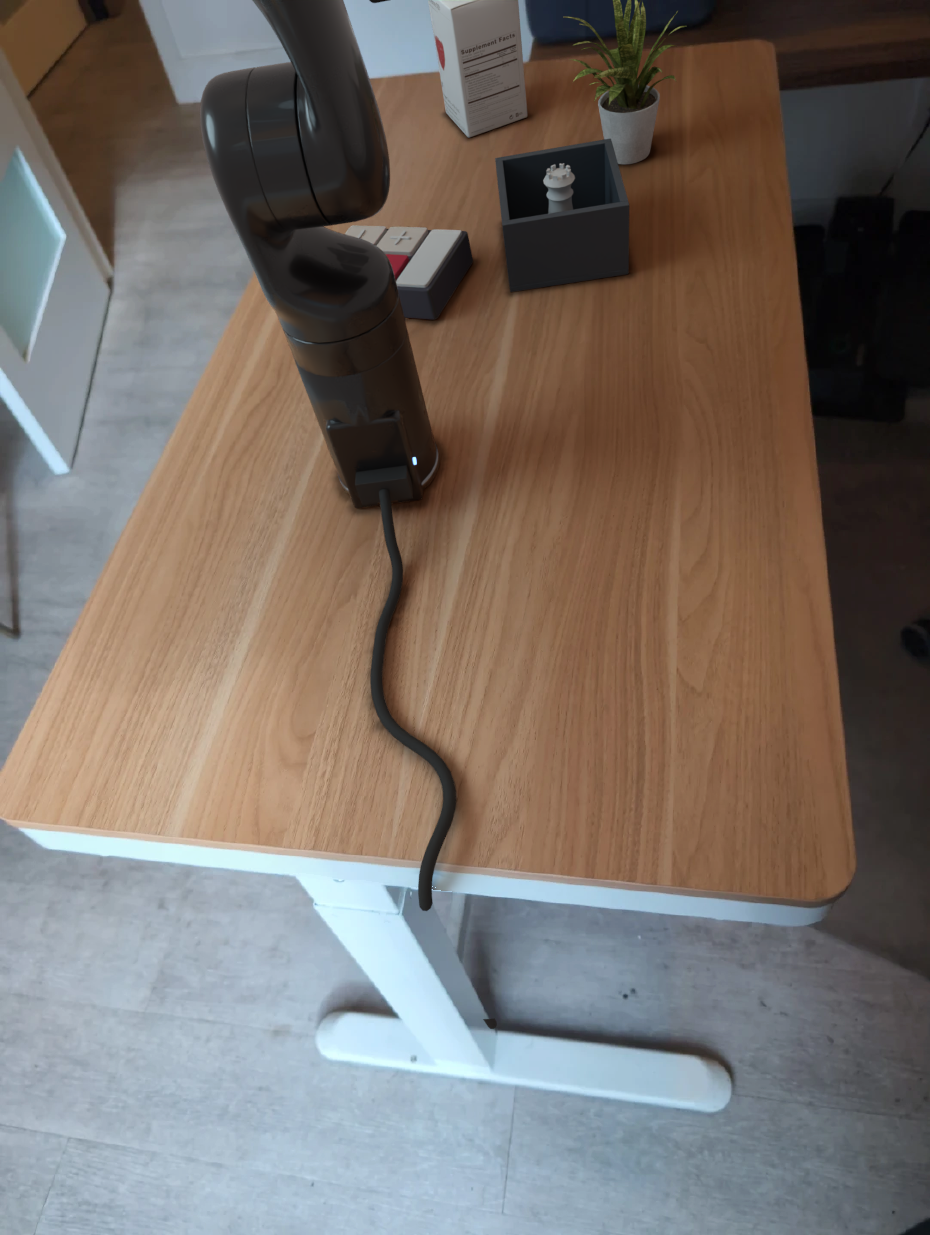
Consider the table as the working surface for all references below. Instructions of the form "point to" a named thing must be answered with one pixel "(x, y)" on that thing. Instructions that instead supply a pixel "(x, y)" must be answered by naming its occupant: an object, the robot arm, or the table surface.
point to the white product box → (480, 62)
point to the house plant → (627, 85)
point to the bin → (563, 217)
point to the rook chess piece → (559, 188)
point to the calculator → (422, 264)
